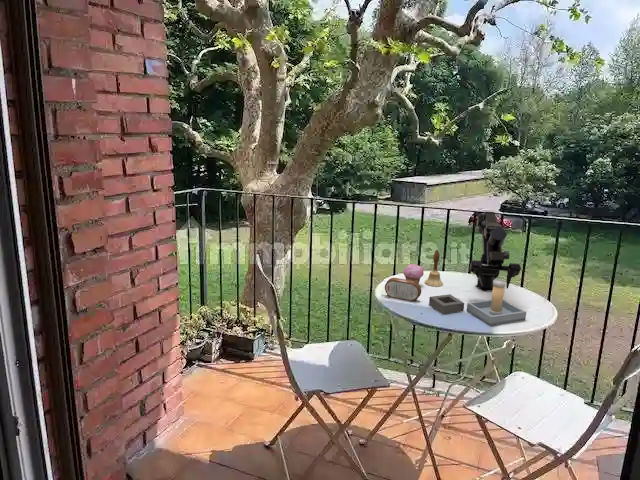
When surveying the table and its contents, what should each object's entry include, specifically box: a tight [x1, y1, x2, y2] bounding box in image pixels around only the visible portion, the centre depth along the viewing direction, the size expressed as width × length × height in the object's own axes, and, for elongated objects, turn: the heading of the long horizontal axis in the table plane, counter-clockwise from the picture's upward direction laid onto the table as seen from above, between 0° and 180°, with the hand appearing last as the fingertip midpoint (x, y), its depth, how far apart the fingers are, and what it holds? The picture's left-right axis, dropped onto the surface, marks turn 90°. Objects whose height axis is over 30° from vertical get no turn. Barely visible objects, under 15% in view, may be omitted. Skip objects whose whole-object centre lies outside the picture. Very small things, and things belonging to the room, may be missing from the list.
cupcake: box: [403, 263, 425, 285], centre depth 207 cm, size 9×9×10 cm
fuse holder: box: [428, 294, 465, 315], centre depth 184 cm, size 10×10×4 cm
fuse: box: [489, 278, 507, 315], centre depth 176 cm, size 4×4×13 cm
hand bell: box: [424, 249, 444, 288], centre depth 210 cm, size 8×8×16 cm
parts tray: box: [466, 299, 527, 327], centre depth 178 cm, size 16×14×4 cm
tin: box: [384, 277, 422, 302], centre depth 193 cm, size 15×3×8 cm, turn 65°
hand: (495, 287), depth 183 cm, fingers open, 9 cm apart
